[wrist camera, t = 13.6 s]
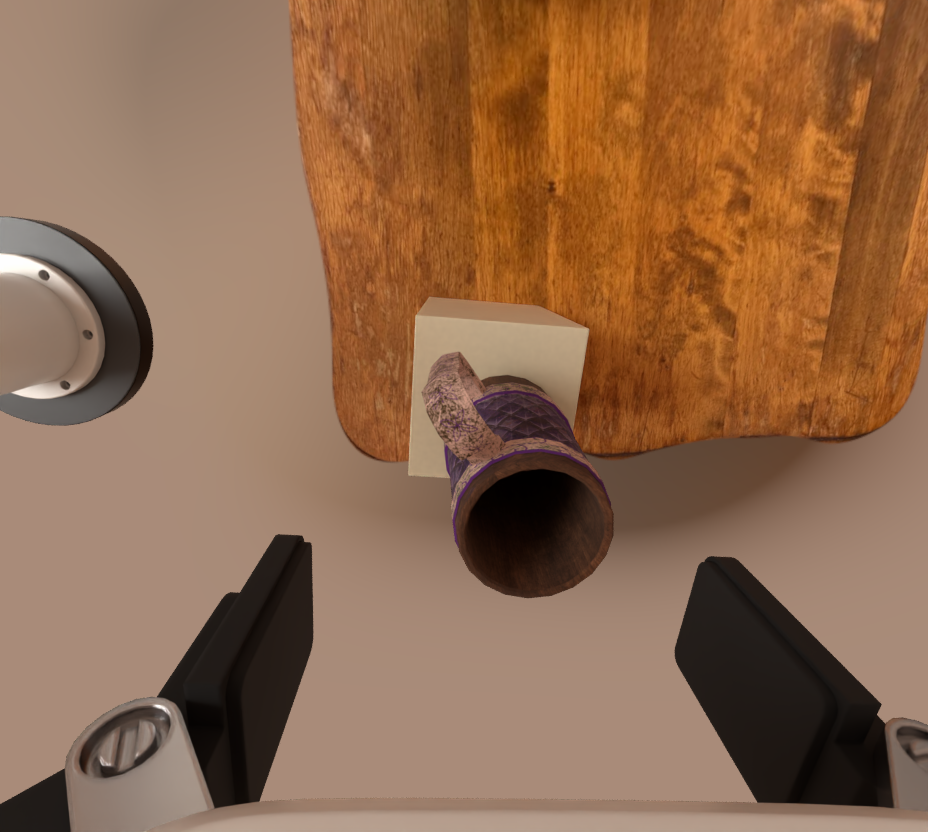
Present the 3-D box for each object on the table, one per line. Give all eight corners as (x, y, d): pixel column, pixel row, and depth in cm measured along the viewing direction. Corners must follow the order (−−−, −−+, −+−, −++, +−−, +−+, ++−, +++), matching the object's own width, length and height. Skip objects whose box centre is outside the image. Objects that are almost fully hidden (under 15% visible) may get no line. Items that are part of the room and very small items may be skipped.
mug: (579, 447, 29) (663, 566, 17) (480, 500, 30) (498, 646, 18) (499, 302, 26) (537, 330, 14) (393, 365, 27) (350, 439, 15)
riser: (422, 403, 44) (407, 475, 29) (428, 296, 41) (415, 314, 26) (526, 410, 45) (564, 485, 30) (539, 305, 42) (590, 328, 26)
